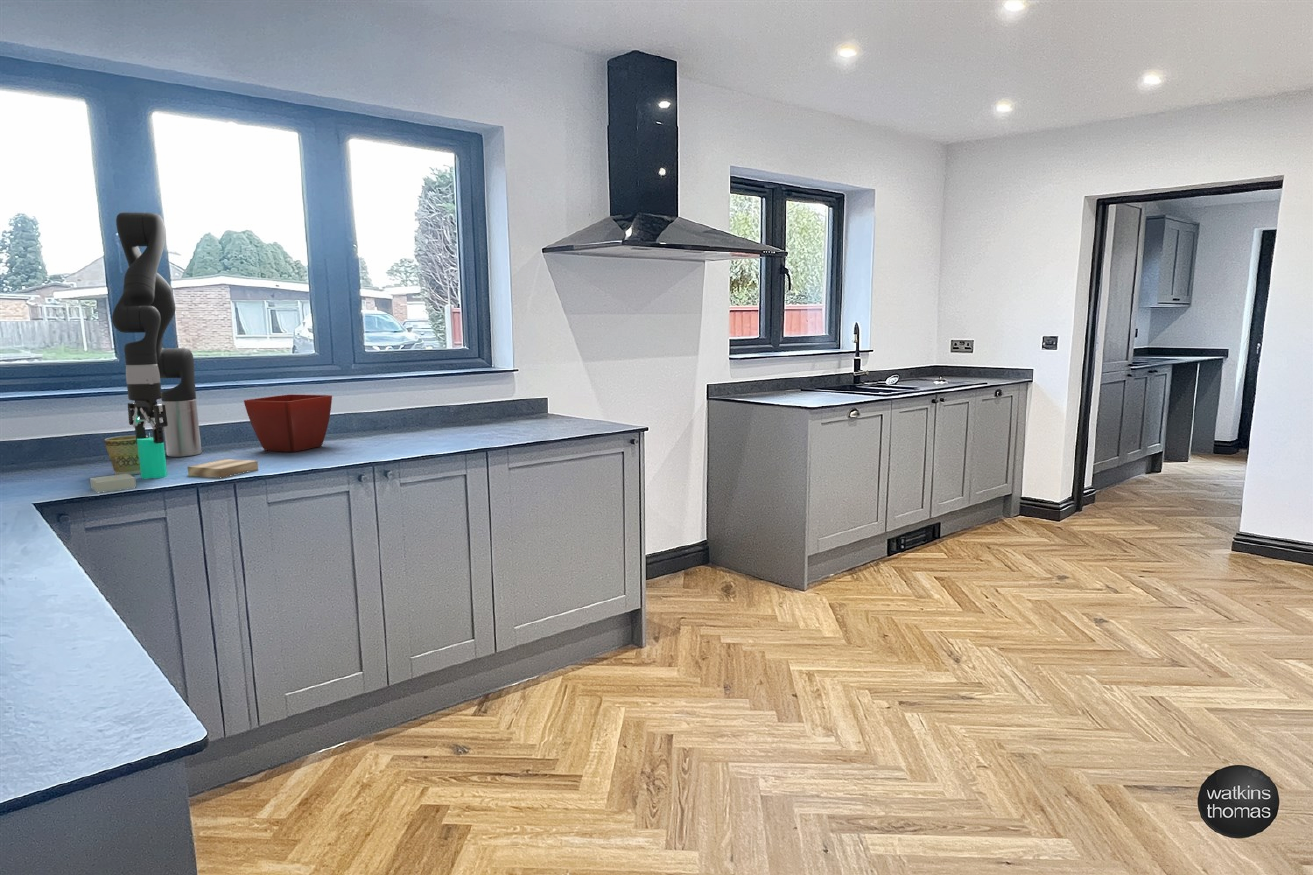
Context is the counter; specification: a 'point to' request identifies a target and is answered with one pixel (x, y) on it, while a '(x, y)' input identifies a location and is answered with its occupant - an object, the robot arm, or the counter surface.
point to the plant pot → (290, 421)
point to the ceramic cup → (124, 454)
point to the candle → (151, 458)
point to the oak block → (222, 468)
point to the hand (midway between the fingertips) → (150, 442)
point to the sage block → (113, 482)
